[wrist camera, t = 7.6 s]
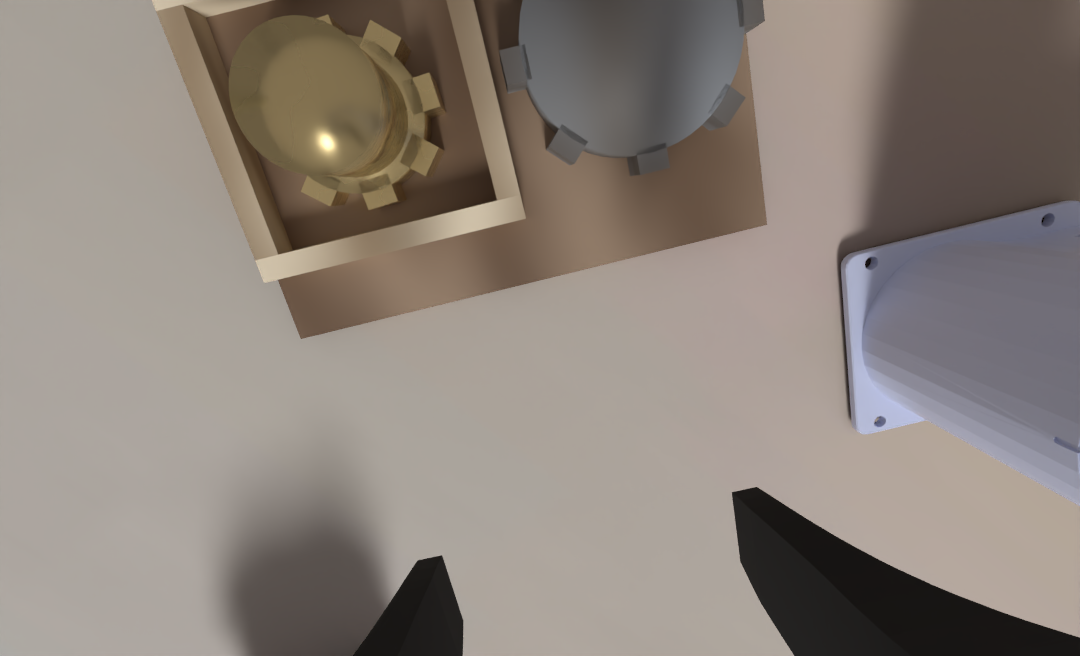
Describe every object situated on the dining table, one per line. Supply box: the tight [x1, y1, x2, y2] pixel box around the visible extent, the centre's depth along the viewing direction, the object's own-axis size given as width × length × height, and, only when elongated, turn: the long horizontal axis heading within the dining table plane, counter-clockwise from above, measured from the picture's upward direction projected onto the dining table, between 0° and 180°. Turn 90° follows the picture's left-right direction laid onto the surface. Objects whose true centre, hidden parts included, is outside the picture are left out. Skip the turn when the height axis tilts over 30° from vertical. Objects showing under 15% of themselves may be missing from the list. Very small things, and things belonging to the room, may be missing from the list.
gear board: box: [152, 0, 767, 339], centre depth 17 cm, size 18×14×2 cm
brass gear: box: [229, 15, 446, 210], centre depth 15 cm, size 6×6×5 cm
